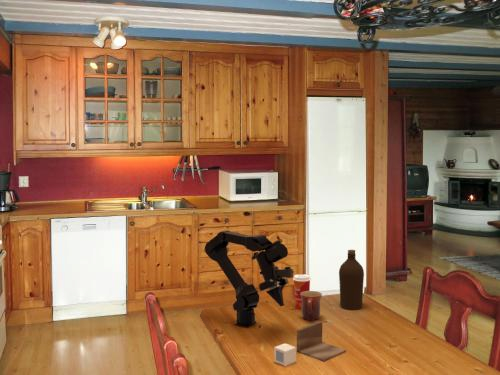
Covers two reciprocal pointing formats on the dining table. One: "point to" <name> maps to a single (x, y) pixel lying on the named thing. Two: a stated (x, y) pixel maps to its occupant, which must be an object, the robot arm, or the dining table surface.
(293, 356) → the letter cube
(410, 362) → the dining table surface
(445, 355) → the dining table surface
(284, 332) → the dining table surface
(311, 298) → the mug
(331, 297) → the dining table surface
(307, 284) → the paper cup
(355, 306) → the olive oil
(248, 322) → the robot arm
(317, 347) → the bookend
